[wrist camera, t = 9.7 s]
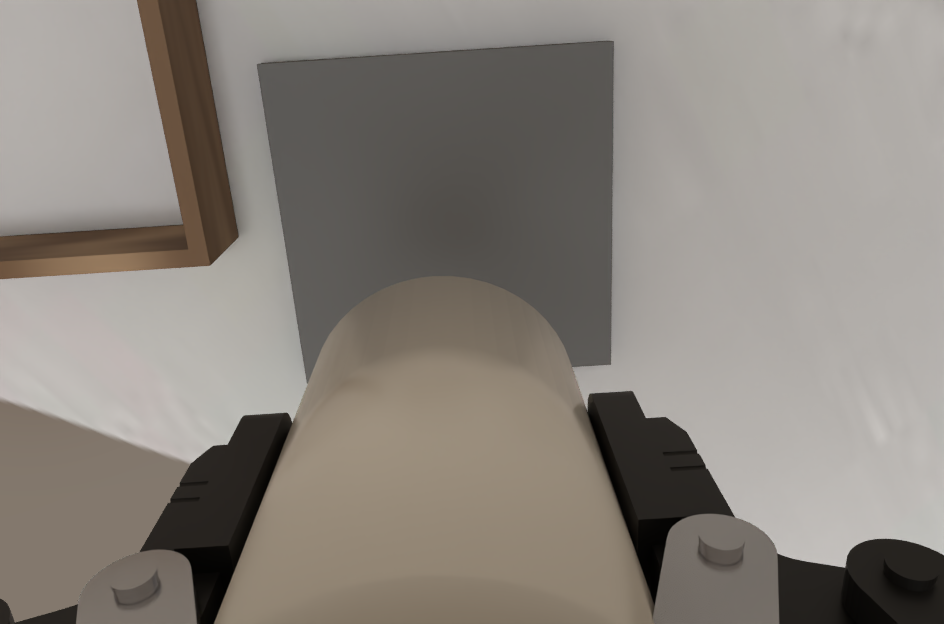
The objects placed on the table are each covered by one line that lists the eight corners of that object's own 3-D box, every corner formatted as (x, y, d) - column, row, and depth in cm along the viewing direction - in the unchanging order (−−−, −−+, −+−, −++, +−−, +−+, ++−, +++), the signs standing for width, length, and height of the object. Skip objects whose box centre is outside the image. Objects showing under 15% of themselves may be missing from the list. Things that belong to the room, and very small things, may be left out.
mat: (608, 40, 26) (613, 41, 25) (607, 356, 30) (610, 364, 29) (262, 63, 26) (256, 64, 25) (310, 374, 30) (307, 383, 29)
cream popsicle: (294, 285, 14) (111, 596, 6) (573, 267, 14) (715, 556, 6) (338, 570, 16) (243, 1036, 9) (576, 554, 16) (682, 1006, 9)
